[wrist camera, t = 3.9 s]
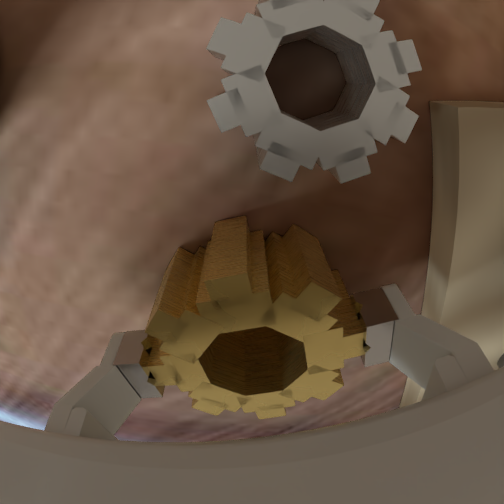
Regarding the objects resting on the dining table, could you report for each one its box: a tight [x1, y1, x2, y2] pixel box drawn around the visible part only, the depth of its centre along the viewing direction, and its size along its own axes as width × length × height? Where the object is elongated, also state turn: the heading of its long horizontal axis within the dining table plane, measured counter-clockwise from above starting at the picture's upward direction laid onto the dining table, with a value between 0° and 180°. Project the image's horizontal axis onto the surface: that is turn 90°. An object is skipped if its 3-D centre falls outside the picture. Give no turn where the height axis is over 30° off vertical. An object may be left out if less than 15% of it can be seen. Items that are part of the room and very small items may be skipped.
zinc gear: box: [206, 0, 422, 184], centre depth 7 cm, size 5×5×2 cm
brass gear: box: [145, 216, 364, 419], centre depth 10 cm, size 6×6×3 cm
